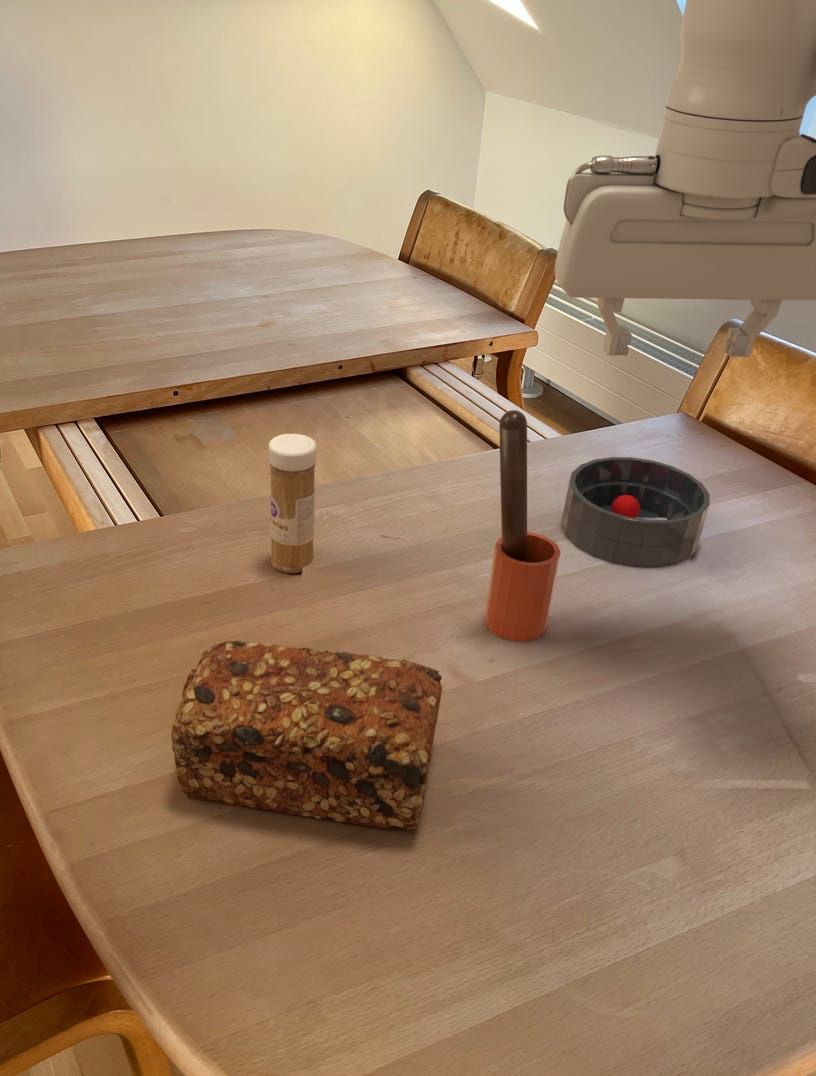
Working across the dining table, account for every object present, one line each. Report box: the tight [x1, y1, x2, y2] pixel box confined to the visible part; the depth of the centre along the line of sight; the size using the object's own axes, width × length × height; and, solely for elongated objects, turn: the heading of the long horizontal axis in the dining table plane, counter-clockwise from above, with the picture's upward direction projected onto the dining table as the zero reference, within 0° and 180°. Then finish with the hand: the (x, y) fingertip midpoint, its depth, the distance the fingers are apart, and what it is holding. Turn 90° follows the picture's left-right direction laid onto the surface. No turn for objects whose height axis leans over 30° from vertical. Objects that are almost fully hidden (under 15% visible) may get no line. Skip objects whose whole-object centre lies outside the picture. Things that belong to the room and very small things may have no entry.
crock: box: [484, 531, 561, 643], centre depth 88 cm, size 6×6×9 cm
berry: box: [611, 495, 640, 518], centre depth 105 cm, size 3×3×3 cm
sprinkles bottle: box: [267, 433, 318, 574], centre depth 95 cm, size 5×5×13 cm
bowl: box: [560, 456, 711, 569], centre depth 103 cm, size 14×14×6 cm
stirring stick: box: [498, 409, 528, 562], centre depth 84 cm, size 2×2×21 cm
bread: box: [170, 639, 443, 830], centre depth 72 cm, size 19×11×10 cm, turn 78°
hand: (675, 353), depth 75 cm, fingers open, 8 cm apart
